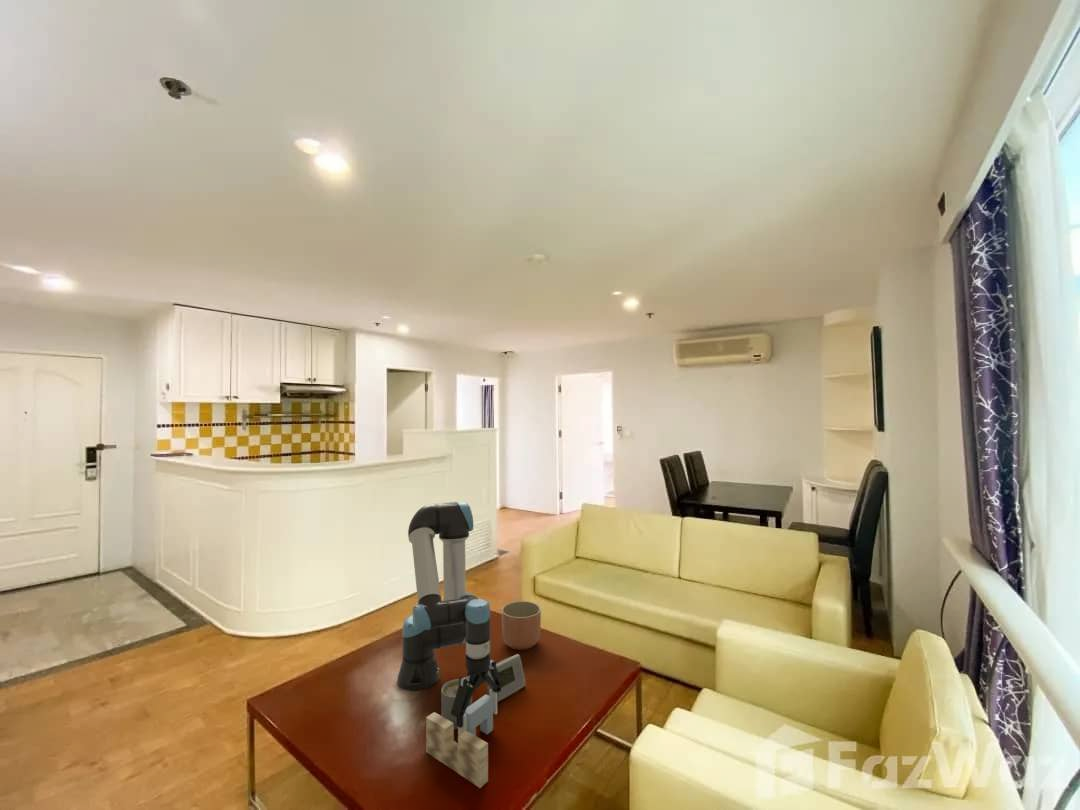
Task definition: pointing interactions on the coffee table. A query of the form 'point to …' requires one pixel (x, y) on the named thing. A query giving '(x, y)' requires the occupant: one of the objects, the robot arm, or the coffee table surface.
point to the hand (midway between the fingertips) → (478, 724)
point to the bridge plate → (480, 715)
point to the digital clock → (509, 676)
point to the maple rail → (457, 749)
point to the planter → (521, 624)
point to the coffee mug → (450, 700)
